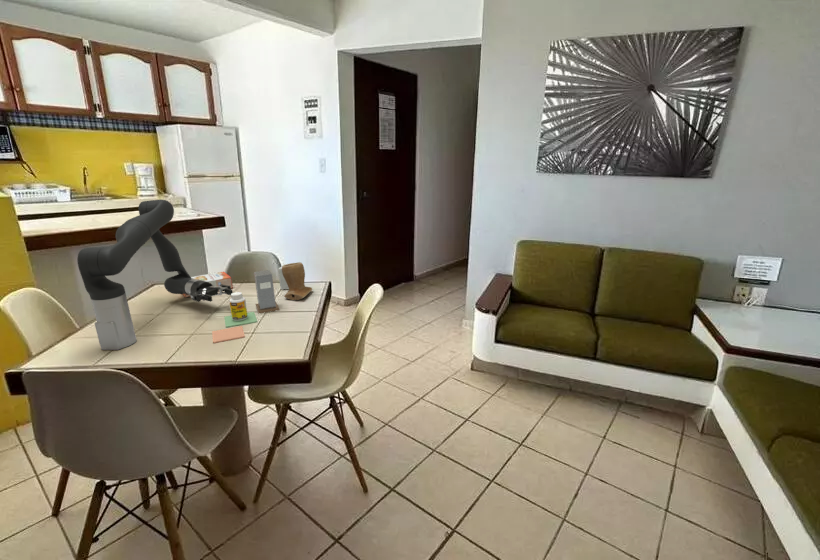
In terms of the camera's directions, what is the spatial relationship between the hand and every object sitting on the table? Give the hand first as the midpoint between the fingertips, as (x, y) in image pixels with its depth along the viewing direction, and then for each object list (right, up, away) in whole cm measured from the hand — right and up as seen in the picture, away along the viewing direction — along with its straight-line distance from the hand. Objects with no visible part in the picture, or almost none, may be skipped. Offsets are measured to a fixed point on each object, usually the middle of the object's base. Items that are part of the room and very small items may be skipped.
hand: (221, 295), depth 156 cm
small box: (+16, +2, +36) cm, 39 cm away
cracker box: (-15, +7, +40) cm, 43 cm away
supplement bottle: (+9, -9, -3) cm, 13 cm away
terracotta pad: (+10, -13, -16) cm, 23 cm away
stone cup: (+23, -1, +24) cm, 33 cm away
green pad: (+9, -9, -3) cm, 13 cm away
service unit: (+15, -6, +9) cm, 18 cm away
